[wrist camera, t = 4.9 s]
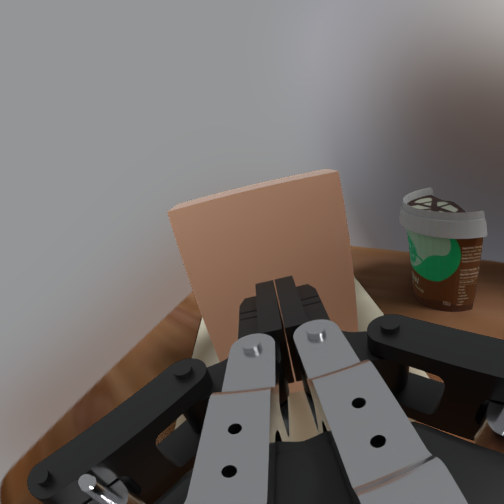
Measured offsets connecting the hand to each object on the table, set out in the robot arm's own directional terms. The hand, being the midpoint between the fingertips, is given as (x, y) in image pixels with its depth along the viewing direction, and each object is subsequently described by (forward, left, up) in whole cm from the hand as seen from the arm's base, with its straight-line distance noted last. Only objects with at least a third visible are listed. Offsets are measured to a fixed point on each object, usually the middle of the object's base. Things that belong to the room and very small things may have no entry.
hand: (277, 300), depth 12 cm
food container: (-16, -13, -11) cm, 24 cm away
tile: (0, -5, -10) cm, 11 cm away
